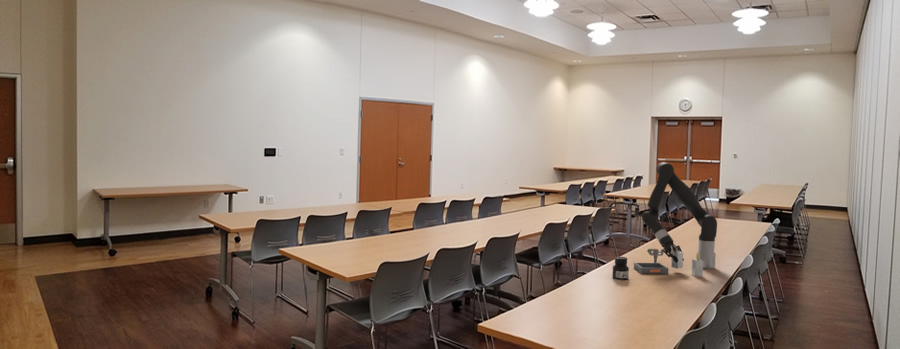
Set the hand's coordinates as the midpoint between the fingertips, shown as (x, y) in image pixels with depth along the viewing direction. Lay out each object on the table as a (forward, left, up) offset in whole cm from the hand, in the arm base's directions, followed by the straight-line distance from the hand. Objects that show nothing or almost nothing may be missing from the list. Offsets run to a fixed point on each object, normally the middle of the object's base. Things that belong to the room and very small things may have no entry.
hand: (679, 261), depth 342 cm
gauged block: (-8, +6, -7) cm, 12 cm away
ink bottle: (+40, +14, -7) cm, 43 cm away
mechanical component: (+7, -21, -7) cm, 23 cm away
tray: (+16, -4, -7) cm, 18 cm away
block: (+1, -2, -4) cm, 5 cm away
